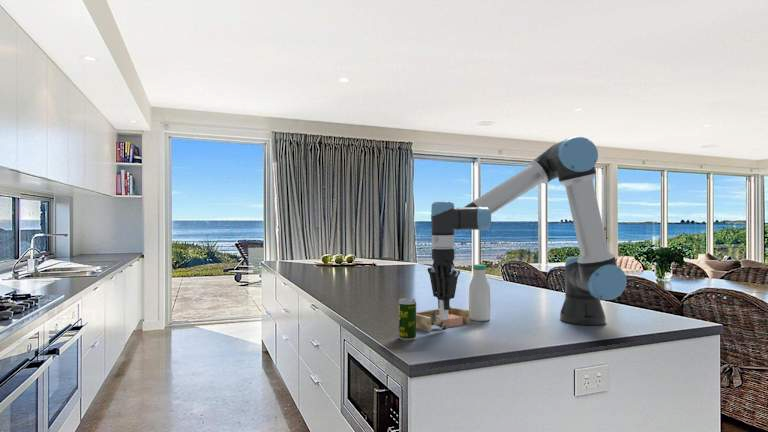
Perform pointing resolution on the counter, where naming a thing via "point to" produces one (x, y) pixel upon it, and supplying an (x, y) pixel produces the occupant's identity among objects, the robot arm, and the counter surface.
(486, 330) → the counter surface
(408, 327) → the beer can
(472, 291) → the milk bottle
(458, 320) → the tile
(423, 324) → the frame
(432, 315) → the vase
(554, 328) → the counter surface
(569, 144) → the robot arm
